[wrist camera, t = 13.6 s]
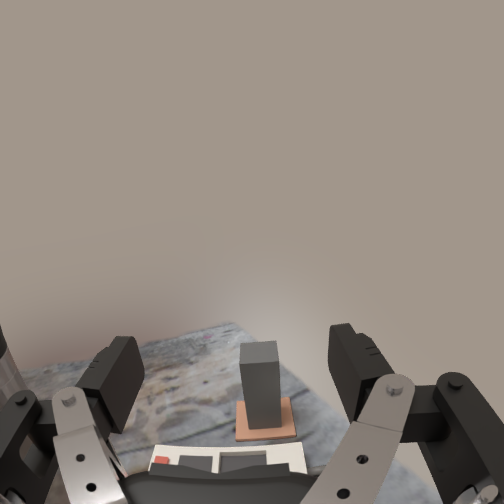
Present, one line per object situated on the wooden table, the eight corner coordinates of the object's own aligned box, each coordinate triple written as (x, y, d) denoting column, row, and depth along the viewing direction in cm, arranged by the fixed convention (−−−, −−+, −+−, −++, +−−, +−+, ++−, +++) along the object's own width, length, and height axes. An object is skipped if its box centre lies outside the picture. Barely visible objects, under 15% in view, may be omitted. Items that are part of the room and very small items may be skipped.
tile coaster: (236, 441, 33) (235, 439, 33) (237, 403, 41) (236, 401, 41) (295, 436, 33) (295, 434, 33) (289, 399, 41) (289, 396, 41)
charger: (248, 429, 35) (239, 364, 32) (249, 407, 39) (240, 342, 36) (281, 427, 35) (279, 361, 32) (279, 405, 39) (276, 340, 36)
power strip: (152, 497, 23) (141, 484, 22) (162, 457, 30) (154, 441, 29) (342, 491, 23) (347, 477, 22) (331, 449, 30) (334, 433, 29)
